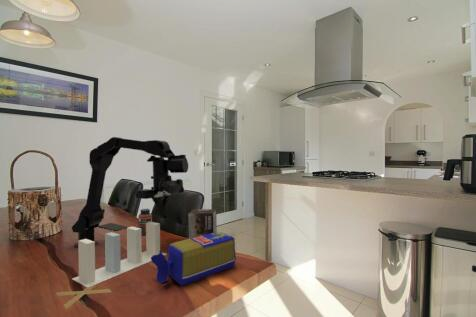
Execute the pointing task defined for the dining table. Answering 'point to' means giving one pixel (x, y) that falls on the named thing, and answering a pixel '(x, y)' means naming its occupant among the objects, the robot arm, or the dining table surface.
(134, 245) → the domino
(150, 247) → the domino
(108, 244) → the domino
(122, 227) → the smartphone
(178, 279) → the bread
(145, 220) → the supplement bottle
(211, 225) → the coffee box
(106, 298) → the dining table surface
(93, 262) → the domino
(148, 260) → the row mat
